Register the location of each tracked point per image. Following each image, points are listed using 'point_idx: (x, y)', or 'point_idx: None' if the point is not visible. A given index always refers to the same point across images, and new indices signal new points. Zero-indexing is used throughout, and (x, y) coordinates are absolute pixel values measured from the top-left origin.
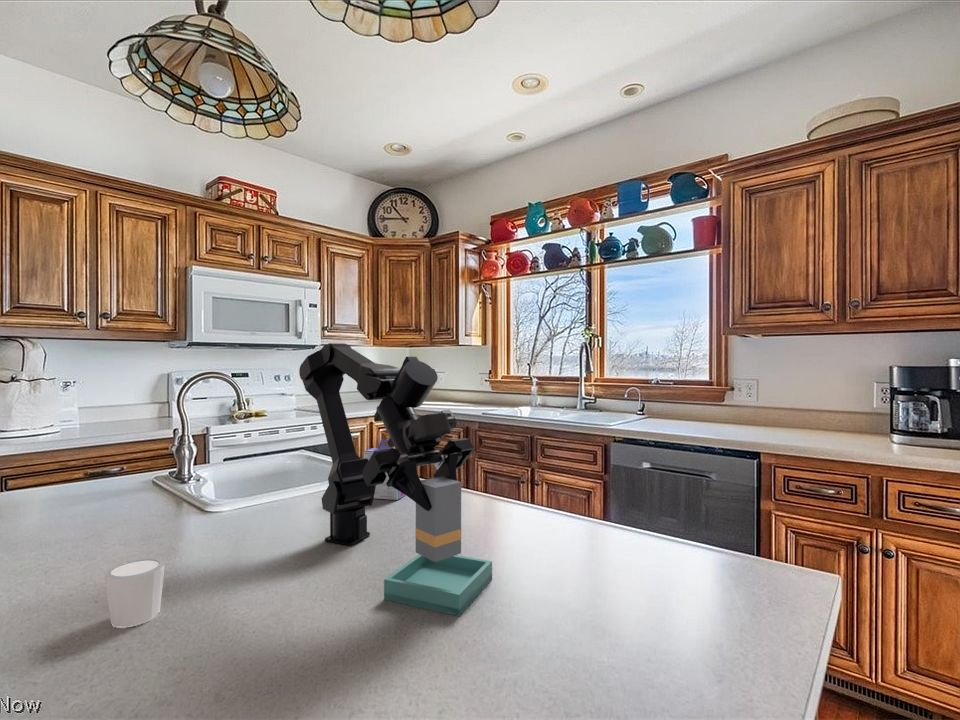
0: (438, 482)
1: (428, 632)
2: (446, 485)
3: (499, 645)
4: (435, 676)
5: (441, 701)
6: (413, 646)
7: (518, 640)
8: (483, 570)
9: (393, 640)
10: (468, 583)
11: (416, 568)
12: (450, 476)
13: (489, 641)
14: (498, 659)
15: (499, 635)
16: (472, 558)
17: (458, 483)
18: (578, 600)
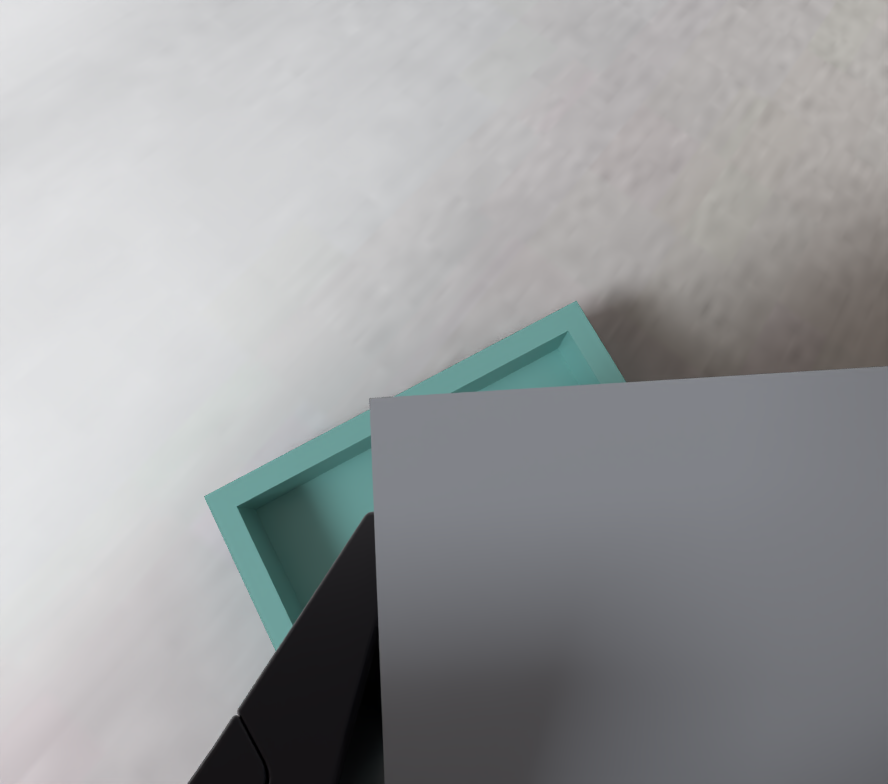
0: (699, 629)
1: (717, 311)
2: (681, 382)
3: (556, 106)
4: (813, 104)
5: (848, 16)
6: (803, 271)
7: (485, 90)
8: (319, 436)
9: (850, 345)
10: (476, 362)
11: None
12: (339, 776)
13: (568, 141)
14: (606, 57)
15: (517, 147)
16: (261, 600)
17: (432, 394)
18: (105, 141)
